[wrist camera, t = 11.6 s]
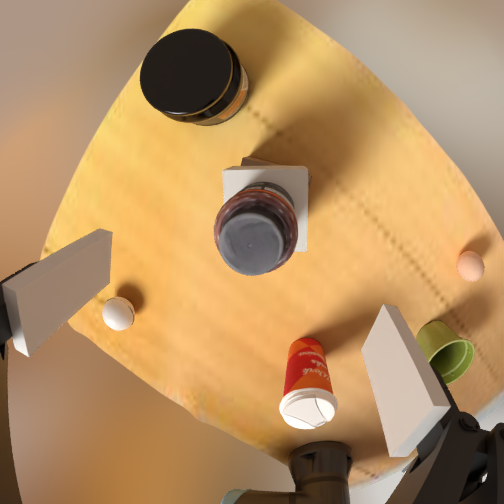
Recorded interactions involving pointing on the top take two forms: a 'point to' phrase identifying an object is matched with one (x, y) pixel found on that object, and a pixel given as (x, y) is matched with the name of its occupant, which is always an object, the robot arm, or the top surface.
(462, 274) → the egg
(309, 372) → the paper cup
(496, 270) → the top surface
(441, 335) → the plant pot
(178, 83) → the supplement container
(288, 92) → the top surface
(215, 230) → the supplement bottle
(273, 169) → the top block
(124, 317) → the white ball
